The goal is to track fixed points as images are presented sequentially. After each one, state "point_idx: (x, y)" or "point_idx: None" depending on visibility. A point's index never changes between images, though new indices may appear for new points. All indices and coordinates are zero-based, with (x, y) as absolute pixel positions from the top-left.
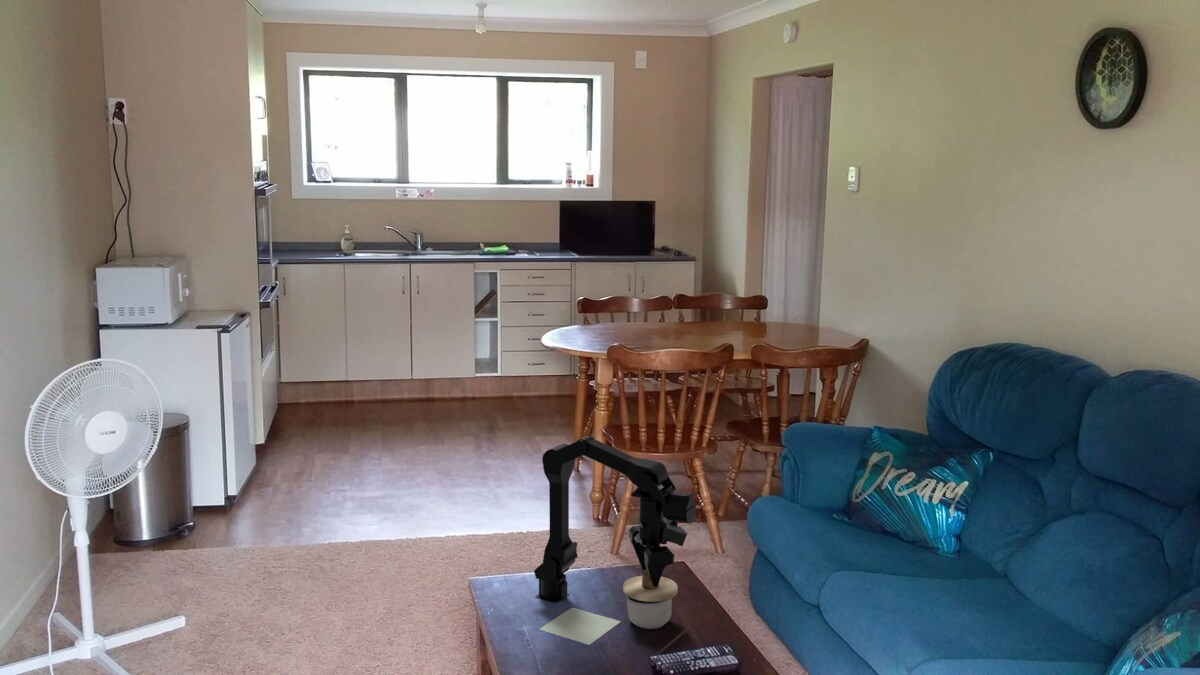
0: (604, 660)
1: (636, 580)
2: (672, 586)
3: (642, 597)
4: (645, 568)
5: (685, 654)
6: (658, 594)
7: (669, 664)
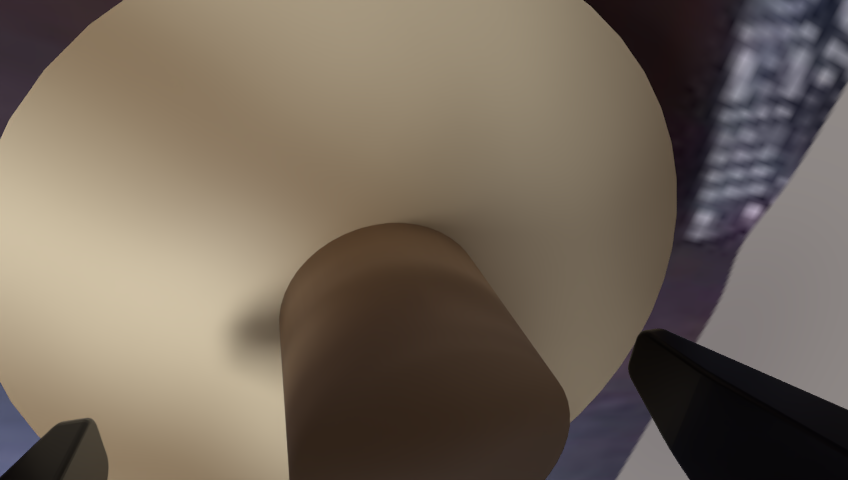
0: (631, 402)
1: (190, 438)
2: (473, 37)
3: (590, 395)
4: (87, 476)
5: (766, 62)
6: (609, 265)
7: (788, 171)
